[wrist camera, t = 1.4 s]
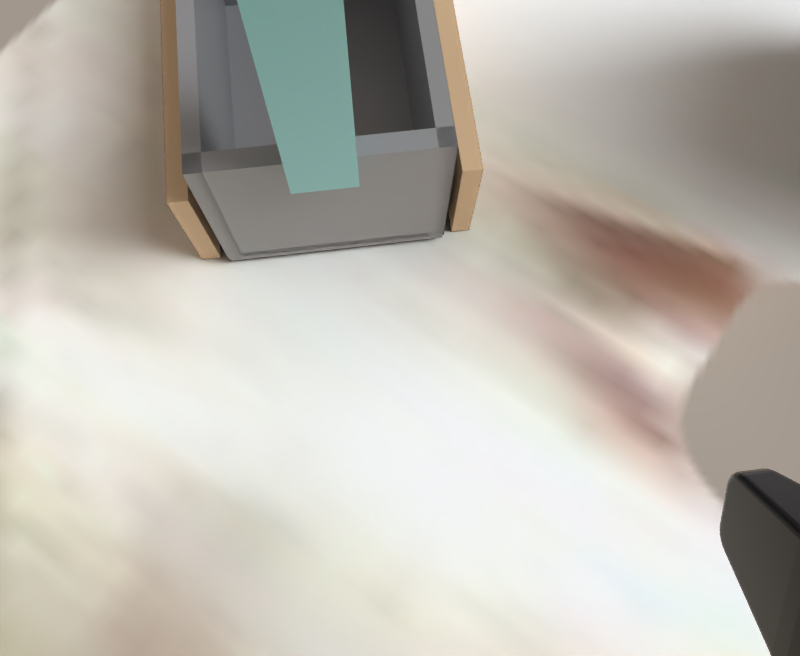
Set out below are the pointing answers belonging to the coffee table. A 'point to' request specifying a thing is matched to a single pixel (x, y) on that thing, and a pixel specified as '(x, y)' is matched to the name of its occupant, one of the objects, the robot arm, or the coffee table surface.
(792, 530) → the robot arm
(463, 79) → the tan open box
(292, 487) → the coffee table surface
